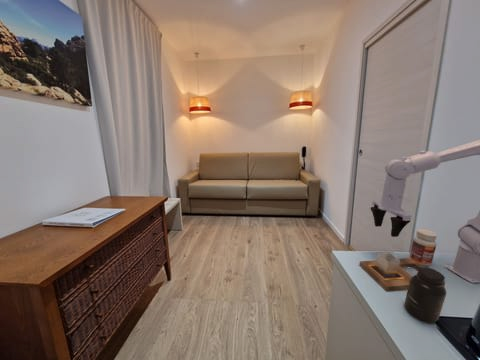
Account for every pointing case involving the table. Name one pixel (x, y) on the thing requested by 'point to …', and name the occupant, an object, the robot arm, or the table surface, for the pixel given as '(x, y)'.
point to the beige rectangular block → (387, 265)
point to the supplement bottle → (426, 295)
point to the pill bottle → (423, 247)
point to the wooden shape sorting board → (392, 283)
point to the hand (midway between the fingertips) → (385, 230)
